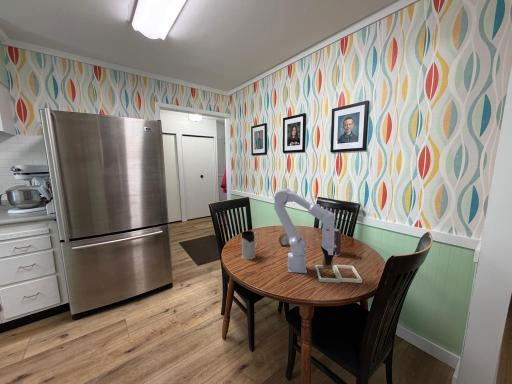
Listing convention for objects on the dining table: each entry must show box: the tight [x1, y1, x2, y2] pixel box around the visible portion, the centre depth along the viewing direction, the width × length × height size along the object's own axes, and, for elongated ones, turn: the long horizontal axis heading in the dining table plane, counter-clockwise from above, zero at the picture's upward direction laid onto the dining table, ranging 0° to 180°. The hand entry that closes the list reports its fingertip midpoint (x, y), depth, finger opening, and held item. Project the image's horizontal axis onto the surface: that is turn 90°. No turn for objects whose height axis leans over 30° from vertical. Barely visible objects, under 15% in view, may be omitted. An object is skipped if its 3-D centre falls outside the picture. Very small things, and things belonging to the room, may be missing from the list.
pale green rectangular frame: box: [314, 264, 341, 284], centre depth 105 cm, size 10×14×2 cm
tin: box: [278, 232, 290, 246], centre depth 146 cm, size 15×3×8 cm, turn 120°
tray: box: [333, 264, 363, 284], centre depth 105 cm, size 10×14×2 cm
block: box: [322, 252, 334, 270], centre depth 105 cm, size 4×4×7 cm
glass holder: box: [241, 230, 260, 260], centre depth 129 cm, size 9×14×15 cm, turn 137°
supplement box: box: [333, 227, 342, 257], centre depth 129 cm, size 9×5×16 cm, turn 40°
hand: (327, 262), depth 105 cm, fingers closed on block, 4 cm apart
